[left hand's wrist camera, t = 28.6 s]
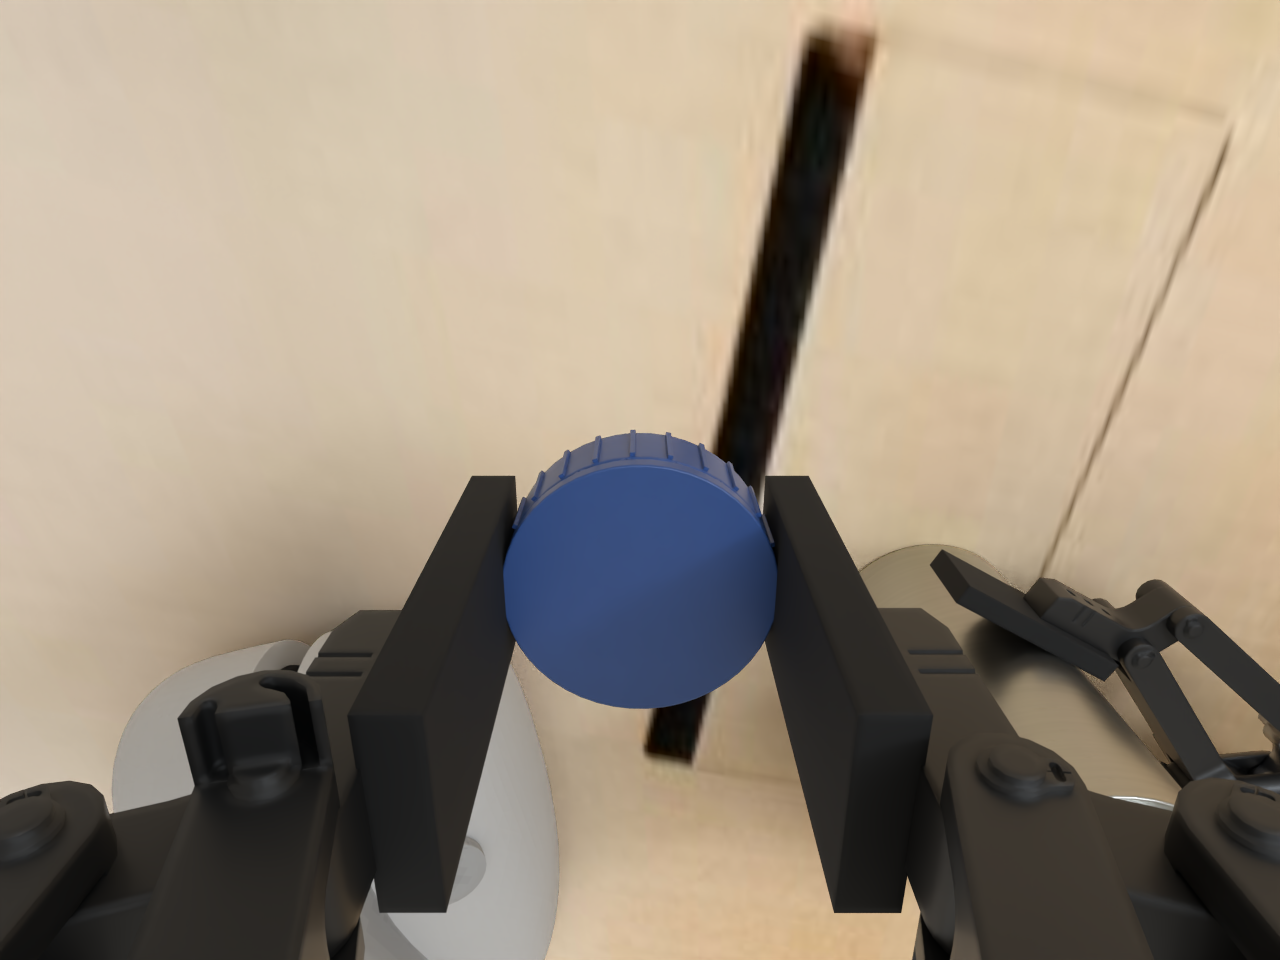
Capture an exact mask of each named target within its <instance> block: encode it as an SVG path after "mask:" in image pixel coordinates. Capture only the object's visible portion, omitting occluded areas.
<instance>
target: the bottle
mask: <svg viewBox="0 0 1280 960" xmlns="http://www.w3.org/2000/svg"><path fill="white" fill-rule="evenodd" d="M942 549H943V550H945V551H947V552H948V553H950V554H952V555H954V556H956V557H958V558H960V559H961V560H963V561H965V562H967V563H969V564H971V565H972V566H974V567H976V568H978V569H980V570H982V571H984V572H985V573H987V574H989V575H991V576H993V577H995V578H996V579H998V580H1000V581H1002V582H1004V583H1006V584H1008V583H1007V582H1006V580H1005V579H1004V578H1003V577H1002V576H1001V575H1000V573H999V572H998V571H997V570H996V569H995V568H994V567H993V566H992V565H991V564H990V563H989V562H987V561H986V560H984V559H983V558H981V557H980V556H978V555H976V554H974V553H972V552H969V551H967V550H964V549H961V548H957V547H953V546H946V545H918V546H913V547H908V548H904V549H901V550H898V551H894V552H892V553H890V554H887V555H885V556H883V557H881V558H879V559H878V560H876V561H874V562H872V563H871V564H869V565H868V566H867V567H865V568H864V569H863V570H861V571H860V572H859V574H860V575H861V577H862V579H863V581H864V583H865V585H866V587H867V589H868V591H869V593H870V595H871V597H872V598H873V600H874V602H875V604H876V606H877V608H922V609H923V610H925V611H926V612H927V613H929V614H930V615H932V616H933V617H934V618H936V619H937V620H939V621H940V622H941V623H943V624H944V625H945V626H947V627H948V628H949V629H950V631H951V633H952V634H953V636H954V637H955V639H956V640H957V642H958V643H959V645H960V646H961V648H962V649H963V655H966V656H967V657H968V659H969V660H970V662H971V663H972V665H973V666H974V668H975V673H976V674H979V676H980V677H981V679H982V680H983V682H984V683H985V685H986V686H987V688H988V689H989V691H990V693H991V694H992V696H993V697H994V699H995V700H996V702H997V703H998V705H999V706H1000V708H1001V709H1002V711H1003V713H1004V714H1005V716H1006V717H1007V719H1008V720H1009V722H1010V723H1011V725H1012V726H1013V728H1014V729H1015V731H1016V733H1017V734H1018V736H1019V737H1022V738H1026V739H1029V740H1031V741H1034V742H1036V743H1038V744H1040V745H1042V746H1044V747H1046V748H1048V749H1050V750H1052V751H1054V752H1055V753H1057V754H1058V755H1059V756H1060V757H1062V758H1063V759H1064V760H1065V761H1067V762H1068V763H1069V764H1070V765H1072V766H1073V767H1074V768H1075V770H1076V771H1077V773H1078V774H1079V776H1080V777H1081V779H1082V780H1083V782H1084V783H1085V785H1086V787H1087V790H1089V791H1092V792H1095V793H1099V794H1102V795H1106V796H1109V797H1112V798H1117V799H1121V800H1126V801H1130V802H1135V803H1139V804H1144V805H1148V806H1153V807H1157V808H1161V809H1166V810H1170V811H1173V808H1174V804H1175V801H1176V798H1177V795H1178V792H1179V791H1180V790H1181V789H1182V788H1181V787H1180V786H1179V785H1178V784H1177V783H1176V781H1175V780H1174V779H1173V778H1172V777H1171V775H1170V774H1169V773H1168V772H1167V771H1166V770H1165V768H1164V767H1163V766H1162V765H1161V764H1160V762H1159V761H1158V760H1157V759H1156V758H1155V757H1154V755H1153V754H1152V753H1151V752H1150V751H1149V749H1148V748H1147V747H1146V746H1145V745H1144V744H1143V742H1142V741H1141V740H1140V739H1139V738H1138V736H1137V735H1136V734H1135V733H1134V732H1133V731H1132V729H1131V728H1130V727H1129V726H1128V725H1127V723H1126V722H1125V721H1124V720H1123V719H1122V718H1121V716H1120V715H1119V714H1118V713H1117V712H1116V710H1115V709H1114V708H1113V707H1112V706H1111V705H1110V703H1109V702H1108V701H1107V700H1106V699H1105V697H1104V696H1103V695H1102V694H1101V693H1100V692H1099V690H1098V689H1097V688H1096V687H1095V686H1094V684H1093V683H1092V682H1091V681H1090V680H1089V679H1088V677H1087V676H1086V675H1085V674H1084V673H1083V671H1082V670H1081V669H1080V668H1078V667H1076V666H1074V665H1072V664H1070V663H1068V662H1067V661H1065V660H1063V659H1061V658H1059V657H1057V656H1055V655H1053V654H1051V653H1050V652H1048V651H1046V650H1044V649H1042V648H1040V647H1038V646H1036V645H1034V644H1033V643H1031V642H1029V641H1027V640H1025V639H1023V638H1021V637H1019V636H1017V635H1015V634H1014V633H1012V632H1010V631H1008V630H1006V629H1004V628H1002V627H1000V626H998V625H997V624H995V623H993V622H991V621H989V620H987V619H985V618H983V617H981V616H979V615H978V614H976V613H974V612H972V611H970V610H968V609H966V608H964V607H962V606H961V605H959V604H957V603H956V602H955V601H954V599H953V598H952V597H951V595H950V594H949V592H948V591H947V589H946V588H945V587H944V585H943V584H942V582H941V581H940V579H939V578H938V576H937V575H936V574H935V572H934V571H933V569H932V568H931V566H930V564H931V562H932V561H933V560H934V559H935V557H936V556H937V555H938V553H939V552H940V551H941V550H942ZM1008 585H1009V584H1008ZM1009 586H1010V585H1009Z"/></svg>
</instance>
